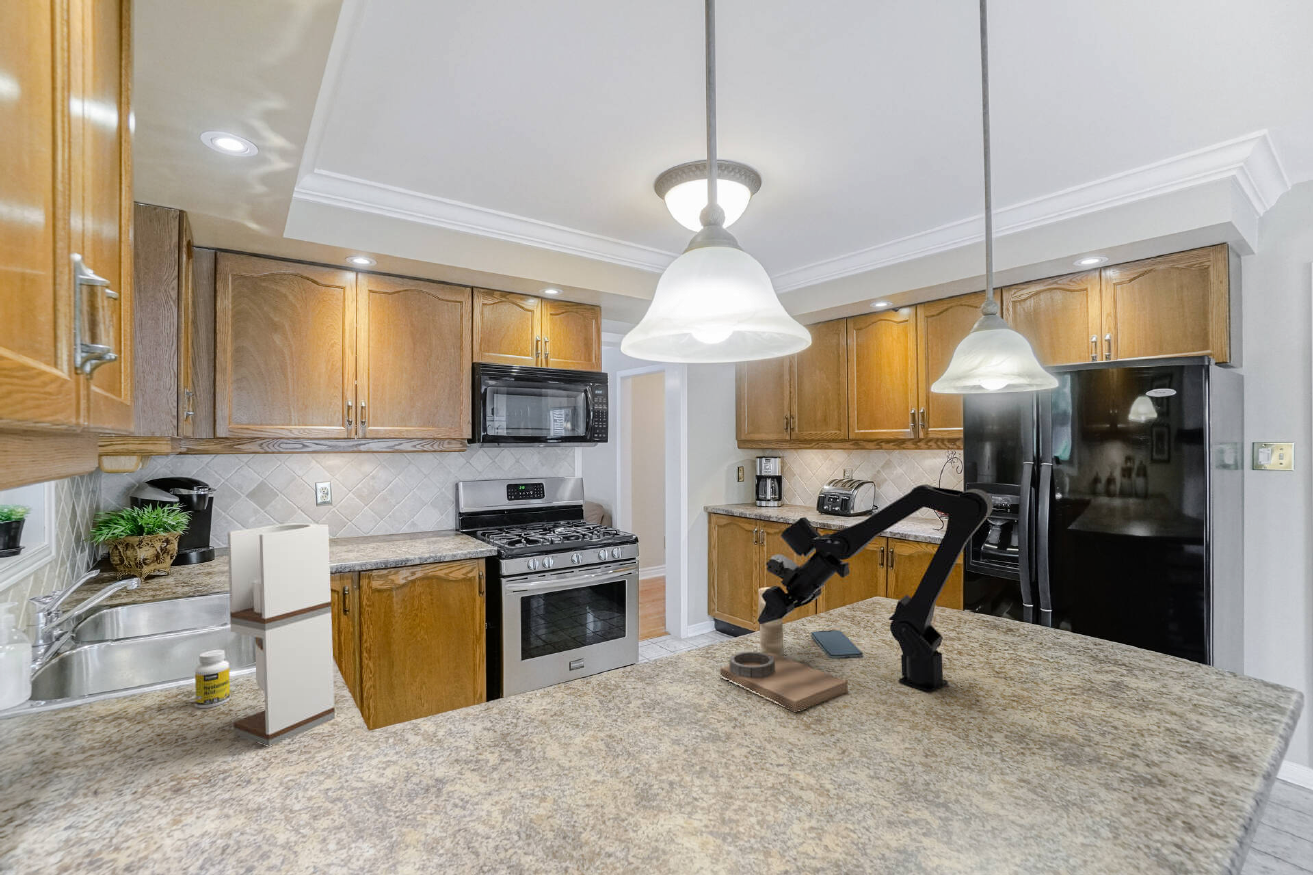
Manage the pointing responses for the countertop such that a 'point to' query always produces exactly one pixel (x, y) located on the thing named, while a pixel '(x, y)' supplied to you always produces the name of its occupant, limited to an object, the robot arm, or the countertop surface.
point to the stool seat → (783, 679)
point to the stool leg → (770, 631)
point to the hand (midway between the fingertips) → (769, 616)
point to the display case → (284, 625)
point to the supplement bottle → (212, 679)
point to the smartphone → (836, 644)
